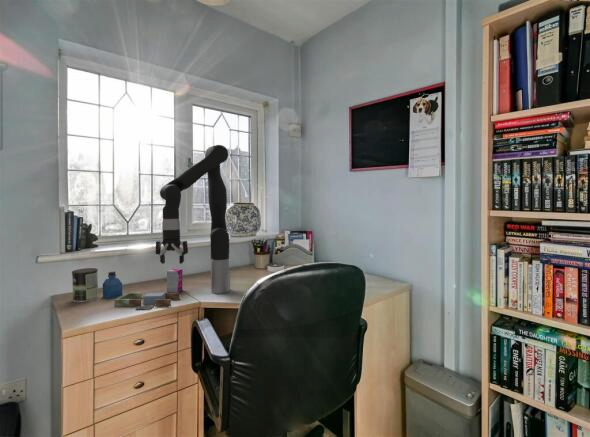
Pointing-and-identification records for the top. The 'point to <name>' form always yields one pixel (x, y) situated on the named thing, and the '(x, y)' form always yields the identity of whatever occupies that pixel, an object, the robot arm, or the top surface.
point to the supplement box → (174, 280)
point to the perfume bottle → (112, 286)
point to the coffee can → (85, 284)
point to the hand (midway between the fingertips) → (172, 263)
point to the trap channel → (135, 298)
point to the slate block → (152, 297)
